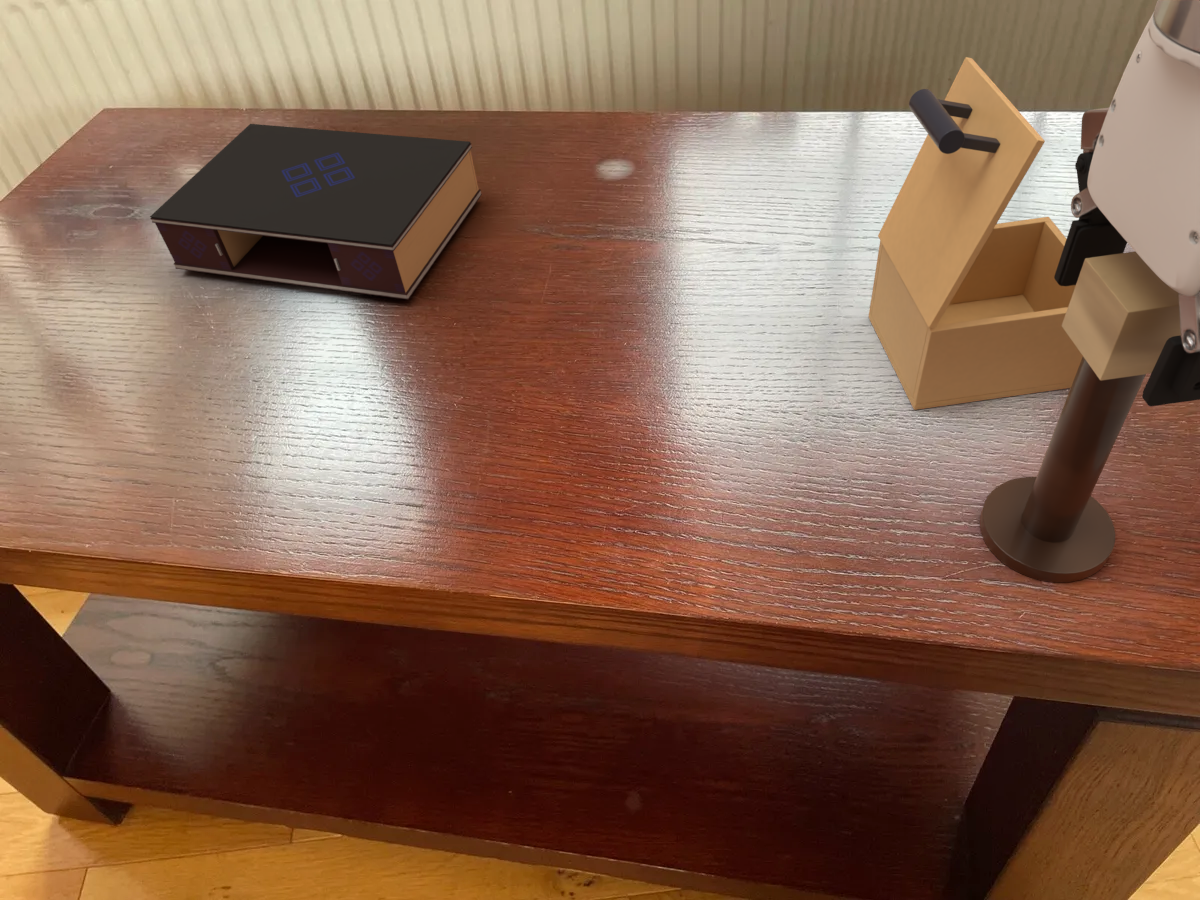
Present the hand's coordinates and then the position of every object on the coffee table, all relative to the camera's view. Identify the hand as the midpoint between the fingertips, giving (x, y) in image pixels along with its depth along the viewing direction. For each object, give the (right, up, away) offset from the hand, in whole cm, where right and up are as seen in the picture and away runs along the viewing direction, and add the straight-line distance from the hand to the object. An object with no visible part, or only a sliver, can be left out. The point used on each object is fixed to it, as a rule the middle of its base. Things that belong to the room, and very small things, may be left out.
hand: (1125, 335), depth 49 cm
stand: (+1, -11, +12) cm, 17 cm away
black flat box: (-54, +15, +44) cm, 71 cm away
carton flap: (-4, +11, +14) cm, 18 cm away
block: (0, -1, 0) cm, 1 cm away
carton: (+2, +2, +25) cm, 25 cm away
